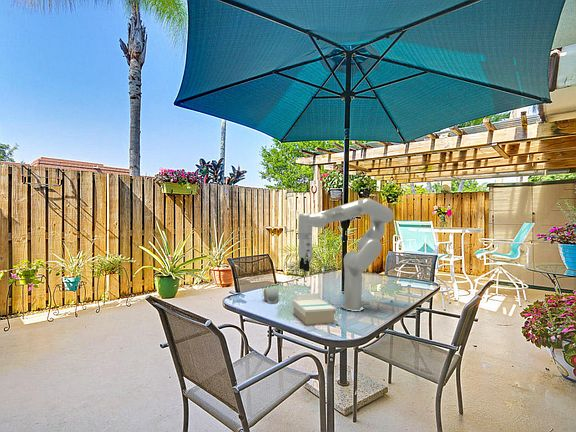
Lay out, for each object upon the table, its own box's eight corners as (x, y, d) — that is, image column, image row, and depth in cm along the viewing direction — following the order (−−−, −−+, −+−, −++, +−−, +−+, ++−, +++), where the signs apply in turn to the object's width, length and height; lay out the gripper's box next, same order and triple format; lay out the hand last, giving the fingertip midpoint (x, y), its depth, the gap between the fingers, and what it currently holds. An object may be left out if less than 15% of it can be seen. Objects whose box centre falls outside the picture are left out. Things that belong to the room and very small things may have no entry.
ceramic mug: (263, 299, 183) (263, 286, 183) (276, 298, 185) (276, 286, 185) (266, 304, 173) (266, 291, 173) (280, 304, 175) (280, 290, 175)
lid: (320, 304, 161) (320, 292, 161) (335, 314, 143) (336, 301, 144) (292, 305, 157) (292, 293, 157) (305, 316, 139) (305, 303, 139)
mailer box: (318, 312, 161) (319, 300, 161) (333, 323, 144) (334, 310, 144) (293, 313, 157) (294, 301, 157) (306, 325, 139) (306, 312, 139)
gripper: (317, 237, 157) (316, 272, 157) (305, 235, 173) (305, 267, 173) (304, 237, 155) (303, 273, 154) (293, 235, 171) (292, 267, 171)
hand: (304, 269), depth 164 cm, fingers open, 5 cm apart
